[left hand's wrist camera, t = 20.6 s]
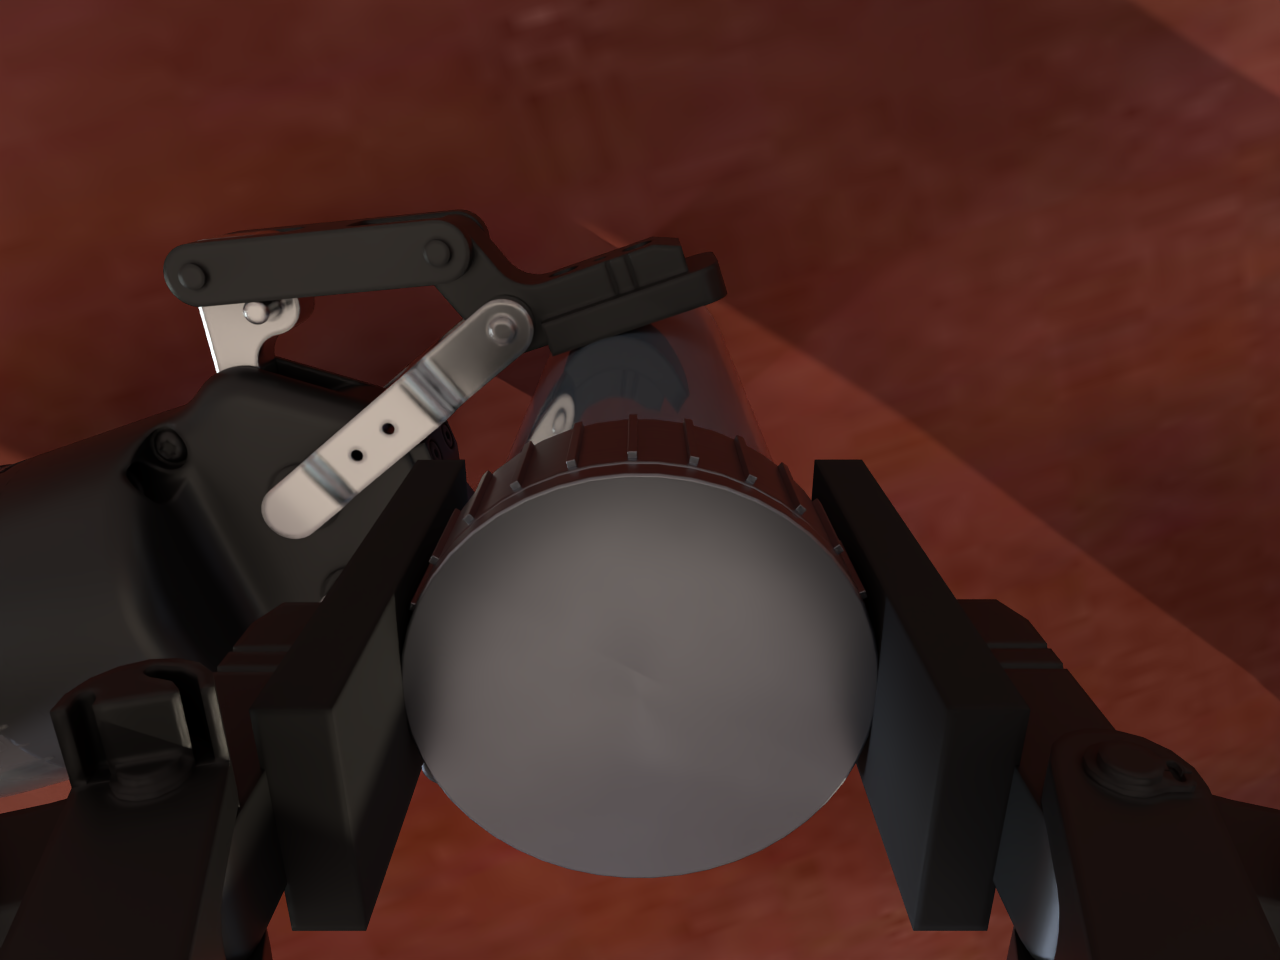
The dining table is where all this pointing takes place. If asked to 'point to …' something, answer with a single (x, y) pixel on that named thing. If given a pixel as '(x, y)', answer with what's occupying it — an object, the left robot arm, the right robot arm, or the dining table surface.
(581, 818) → the lid
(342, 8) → the dining table surface
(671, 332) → the jar
